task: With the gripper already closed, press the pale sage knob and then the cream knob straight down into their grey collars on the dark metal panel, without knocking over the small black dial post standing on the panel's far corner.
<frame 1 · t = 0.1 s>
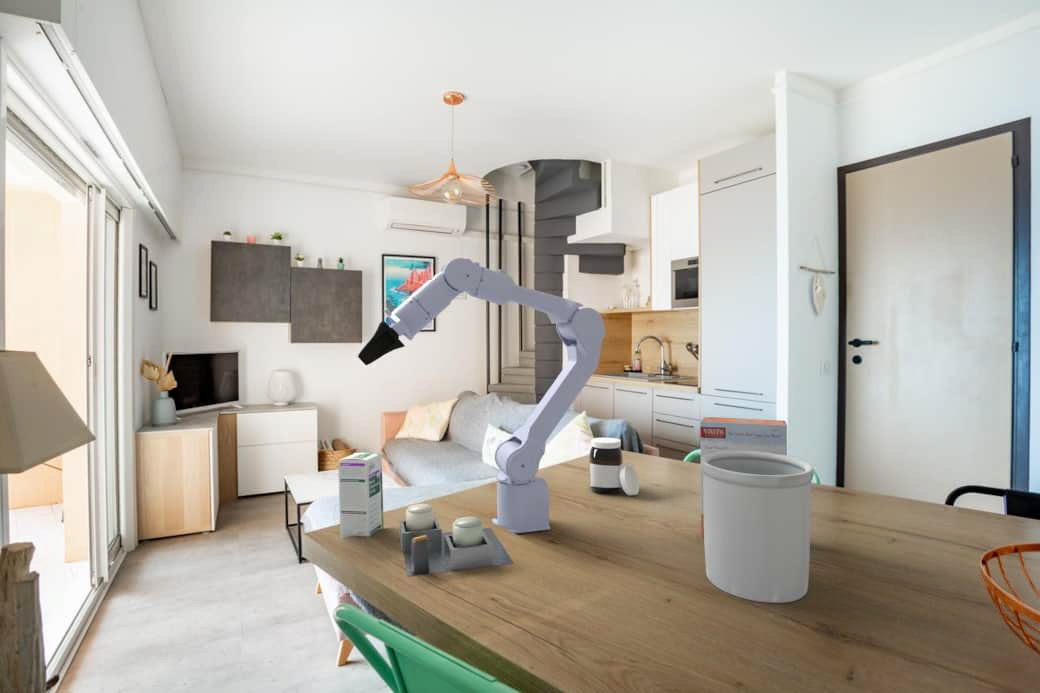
hand: (362, 360, 93), 32 cm above the table, tool tilted 50°, fingers open, 7 cm apart
knob cream: (419, 517, 91), point 5 cm above the table, slide at 0.0 cm
dial post: (420, 569, 80), point 1 cm above the table, touching mount panel
utensil holder: (755, 582, 78), on the table
cracker box: (743, 538, 95), on the table
knob sage: (467, 531, 84), point 5 cm above the table, slide at 0.0 cm
syrup box: (361, 536, 97), on the table
mount panel: (453, 555, 88), on the table
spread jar: (614, 491, 124), on the table
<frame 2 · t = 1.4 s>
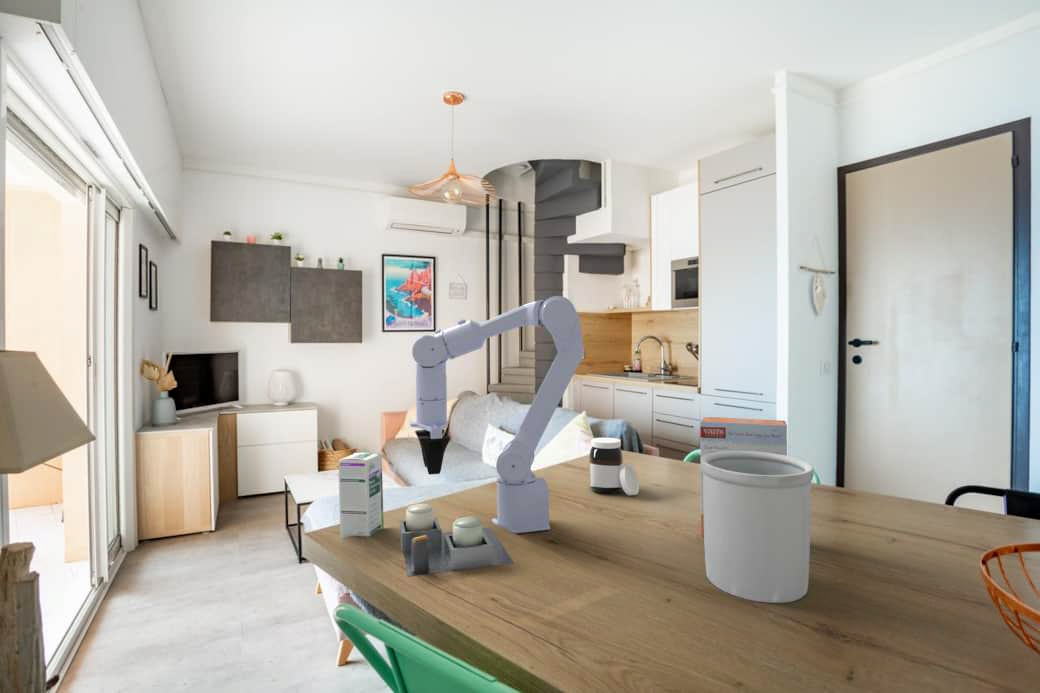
hand: (432, 469, 103), 10 cm above the table, tool pointing down, fingers open, 5 cm apart
nothing on the table moved.
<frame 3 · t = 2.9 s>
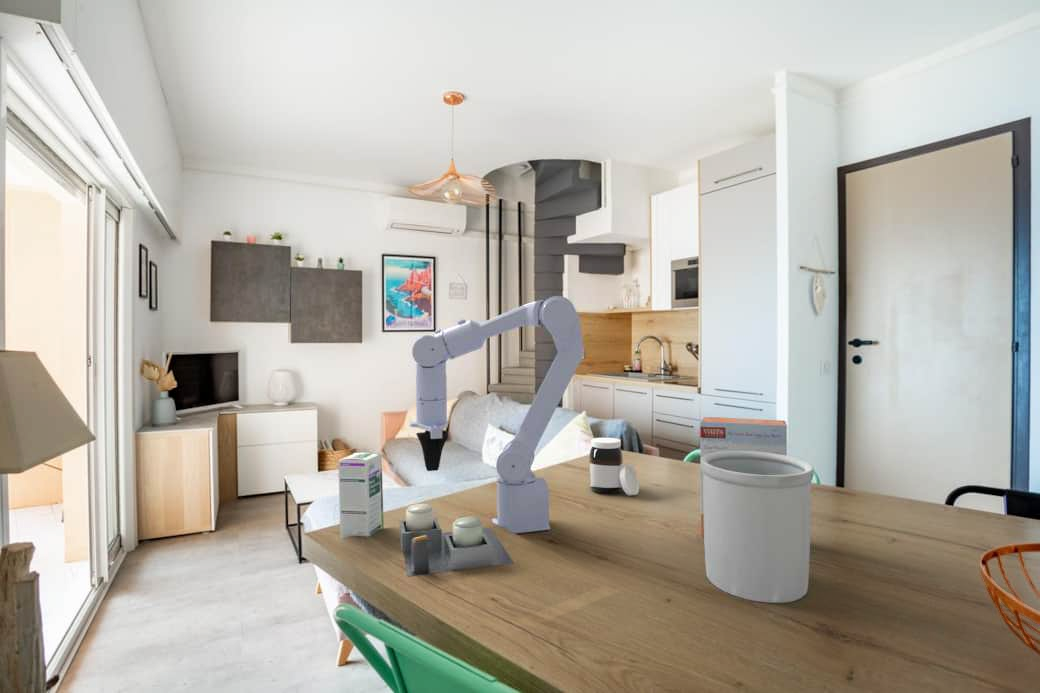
hand: (432, 469, 103), 10 cm above the table, tool pointing down, fingers closed
nothing on the table moved.
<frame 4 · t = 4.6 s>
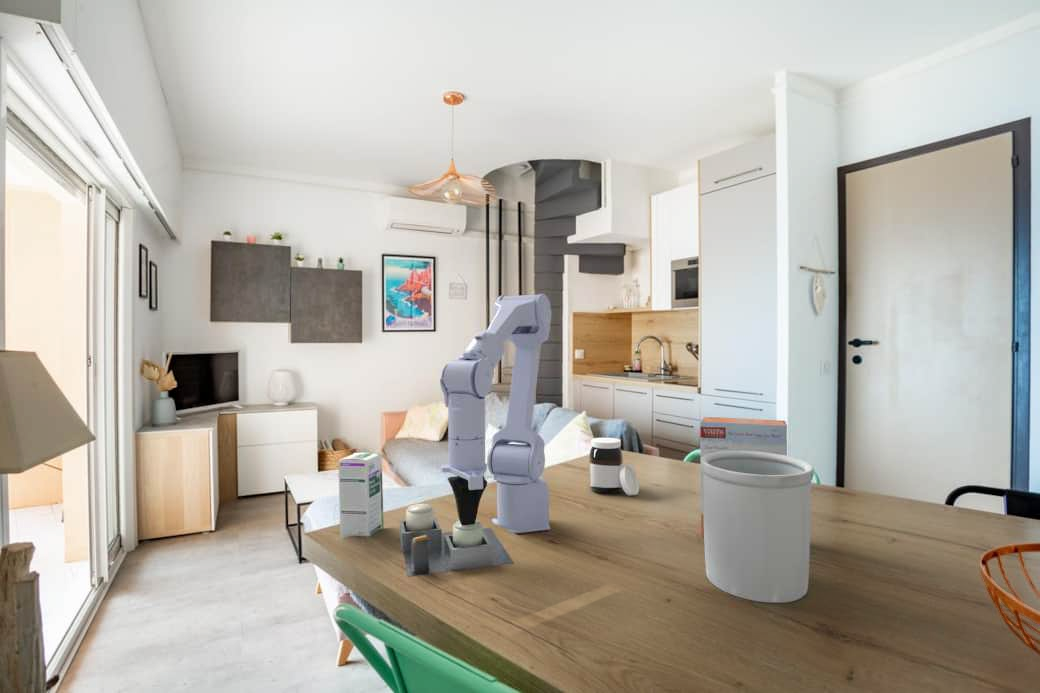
hand: (467, 523, 84), 7 cm above the table, tool pointing down, fingers closed, pressing on knob sage
knob sage: (467, 534, 84), point 5 cm above the table, slide at 0.4 cm, touching gripper
everything else where it was.
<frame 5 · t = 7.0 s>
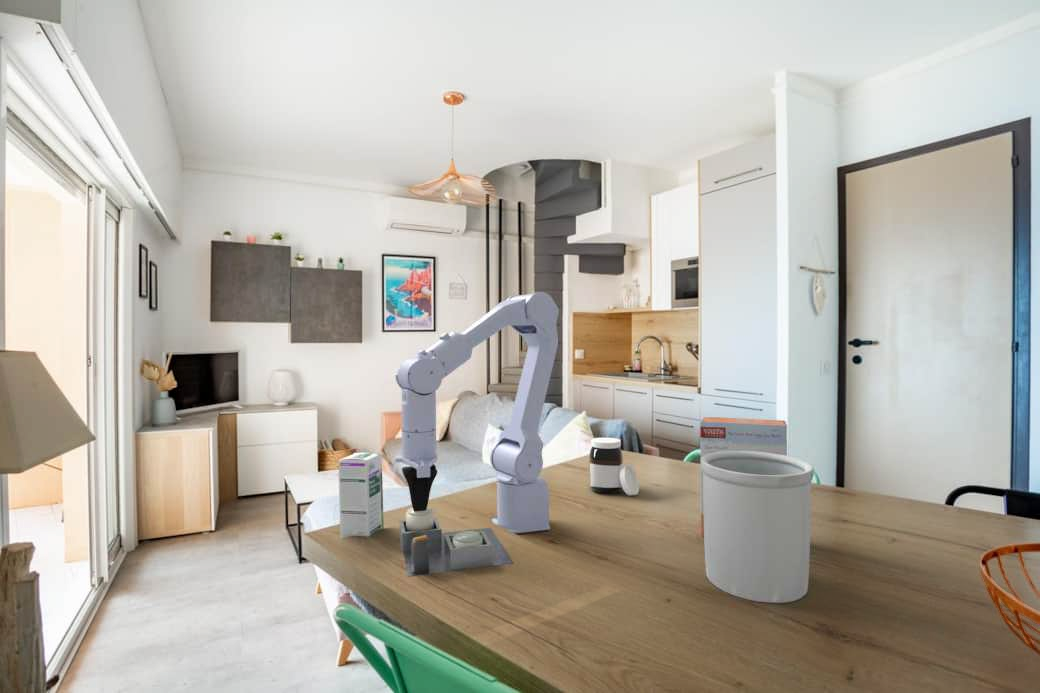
hand: (419, 509, 91), 7 cm above the table, tool pointing down, fingers closed, pressing on knob cream
knob cream: (419, 519, 91), point 5 cm above the table, slide at 0.4 cm, touching gripper
knob sage: (467, 546, 84), point 3 cm above the table, slide at 2.3 cm
everything else where it was.
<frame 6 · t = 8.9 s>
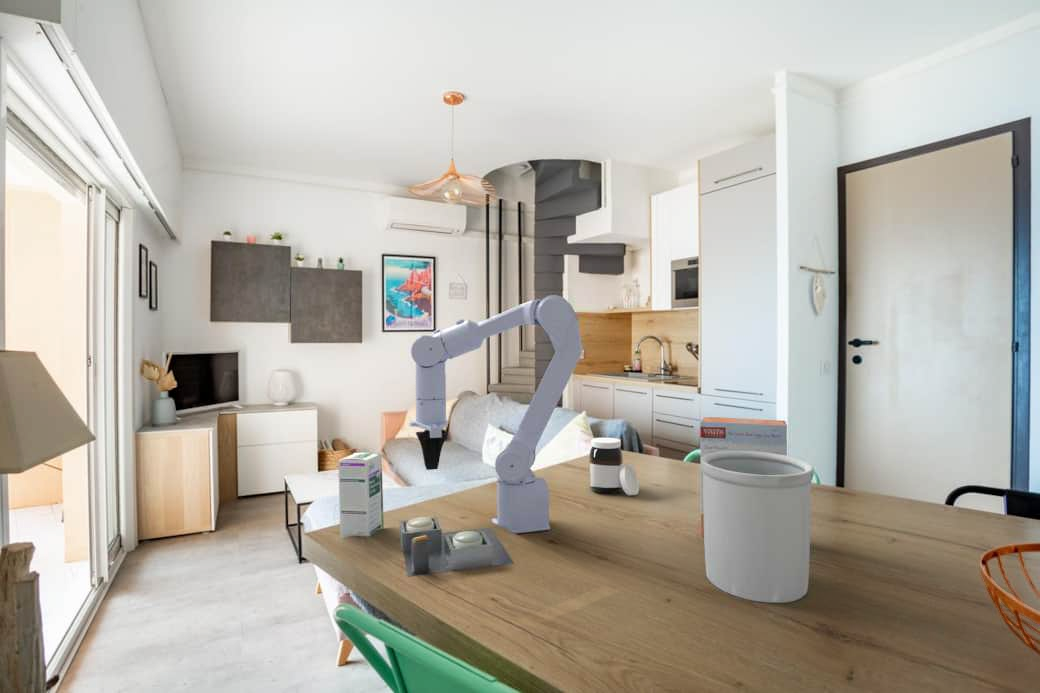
hand: (431, 468, 104), 10 cm above the table, tool pointing down, fingers closed
knob cream: (420, 531, 91), point 3 cm above the table, slide at 2.3 cm
everything else where it was.
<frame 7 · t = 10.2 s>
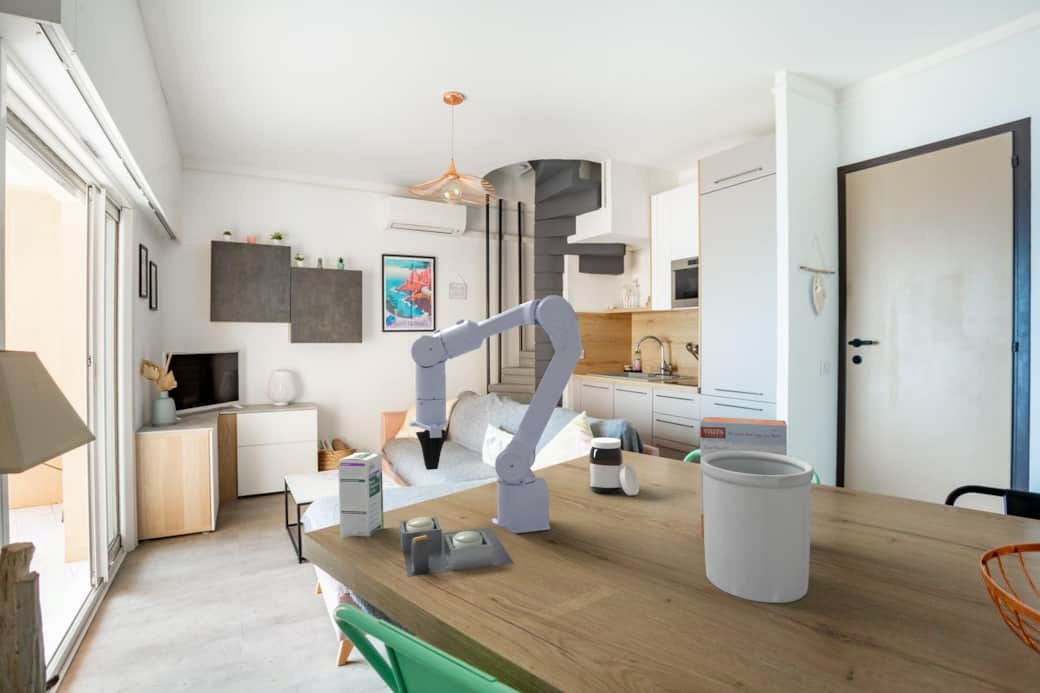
hand: (431, 468, 104), 10 cm above the table, tool pointing down, fingers closed
nothing on the table moved.
at the end: knob sage slide at 2.3 cm; knob cream slide at 2.3 cm; dial post tilted 0° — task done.
